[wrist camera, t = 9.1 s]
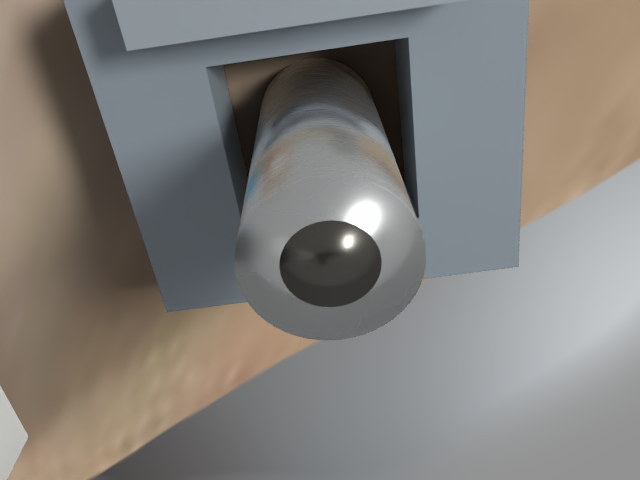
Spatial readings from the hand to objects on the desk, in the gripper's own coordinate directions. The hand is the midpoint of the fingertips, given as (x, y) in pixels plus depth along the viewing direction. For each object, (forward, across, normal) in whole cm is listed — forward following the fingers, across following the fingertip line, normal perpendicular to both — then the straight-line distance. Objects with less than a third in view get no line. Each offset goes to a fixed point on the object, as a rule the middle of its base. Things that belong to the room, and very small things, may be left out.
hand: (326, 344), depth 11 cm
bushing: (+14, 0, 0) cm, 14 cm away
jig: (+14, 0, 0) cm, 14 cm away
